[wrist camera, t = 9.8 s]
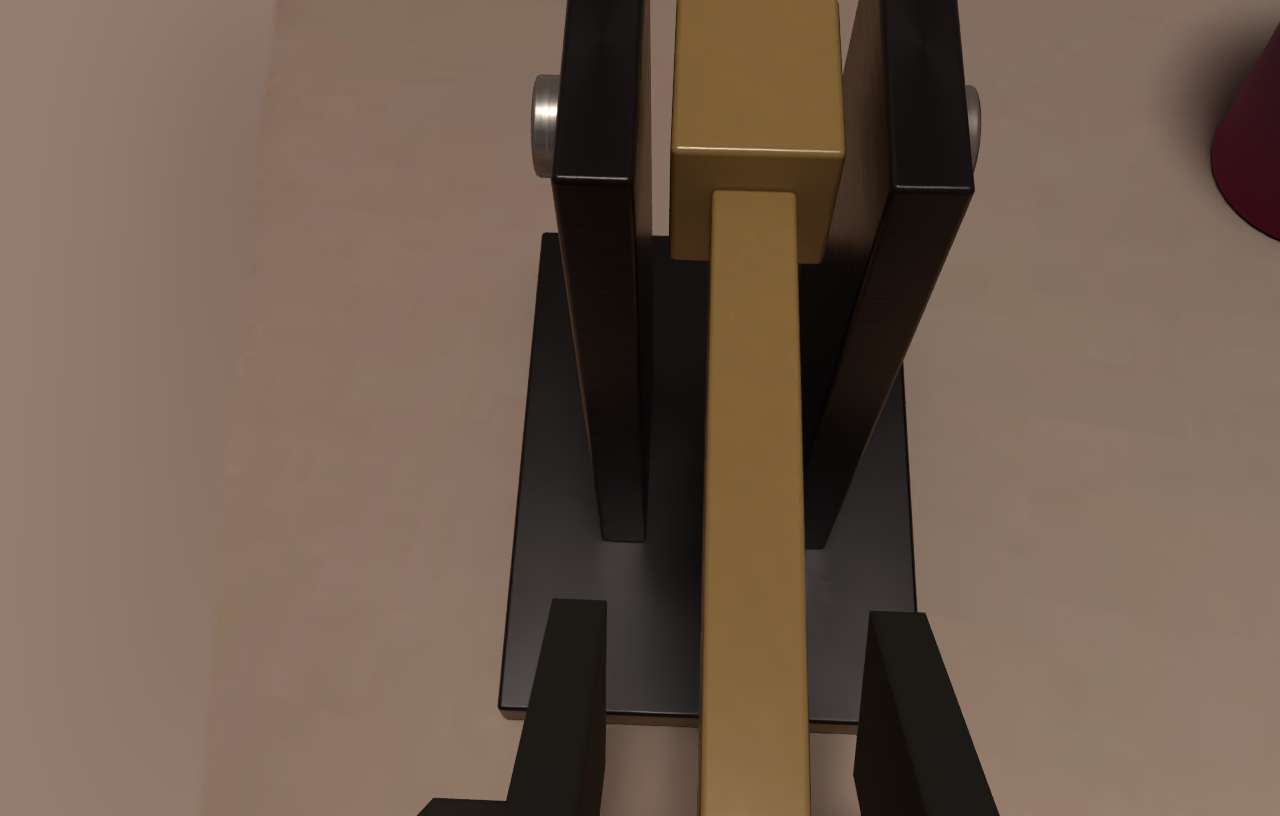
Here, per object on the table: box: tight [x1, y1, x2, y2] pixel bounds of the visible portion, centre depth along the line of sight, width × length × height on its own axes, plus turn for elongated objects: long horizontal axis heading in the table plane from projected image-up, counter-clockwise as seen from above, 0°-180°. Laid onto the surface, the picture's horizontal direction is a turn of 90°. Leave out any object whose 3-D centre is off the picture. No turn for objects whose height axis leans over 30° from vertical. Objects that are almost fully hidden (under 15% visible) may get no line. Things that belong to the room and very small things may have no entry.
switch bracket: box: [498, 0, 981, 734], centre depth 21 cm, size 12×9×15 cm
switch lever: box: [669, 0, 846, 816], centre depth 13 cm, size 14×4×4 cm, turn 177°
